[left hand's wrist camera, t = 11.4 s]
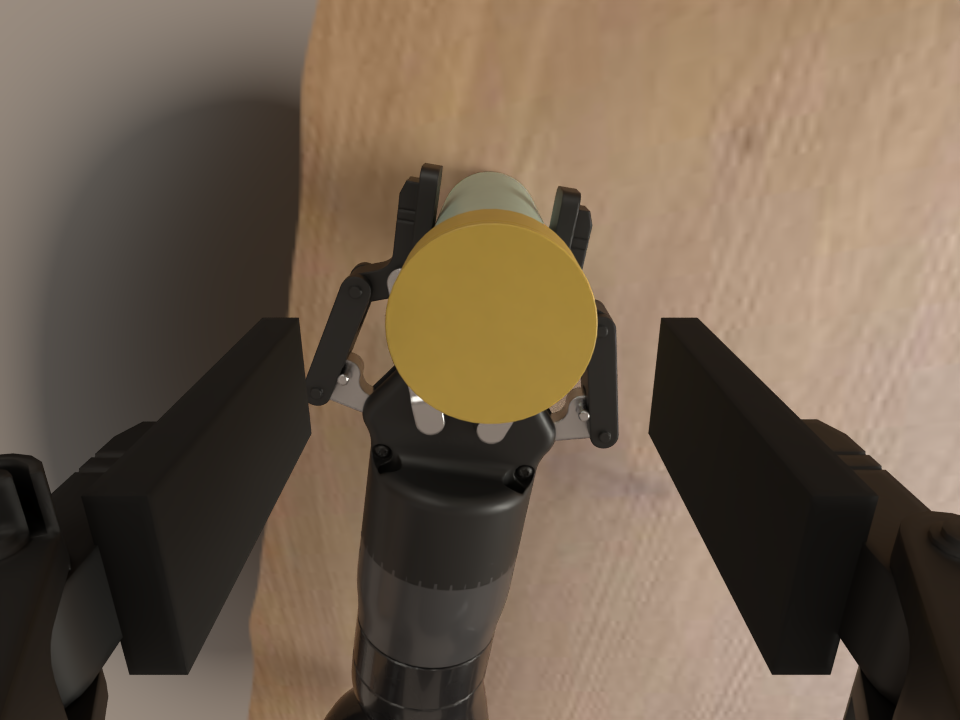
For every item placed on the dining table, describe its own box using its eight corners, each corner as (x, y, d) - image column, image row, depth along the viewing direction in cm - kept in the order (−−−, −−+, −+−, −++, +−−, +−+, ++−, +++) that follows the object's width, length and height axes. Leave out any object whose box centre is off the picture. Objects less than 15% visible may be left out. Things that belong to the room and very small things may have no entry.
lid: (561, 403, 20) (570, 439, 17) (385, 372, 19) (372, 406, 17) (605, 228, 18) (622, 245, 15) (411, 191, 17) (400, 203, 15)
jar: (525, 275, 32) (557, 417, 18) (434, 258, 32) (391, 388, 17) (546, 181, 31) (599, 254, 16) (449, 163, 30) (415, 219, 16)
